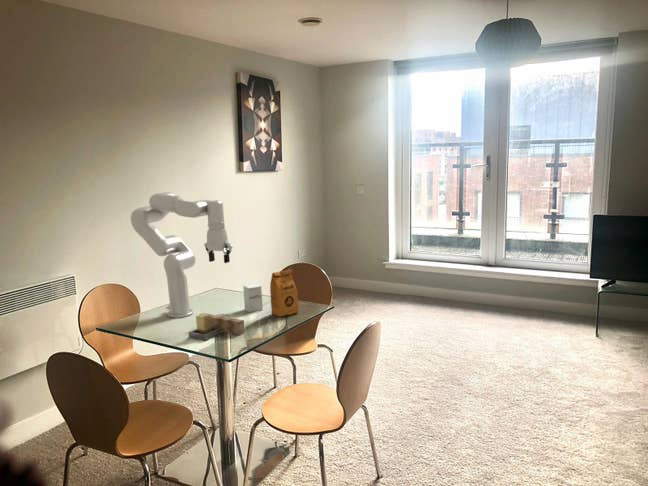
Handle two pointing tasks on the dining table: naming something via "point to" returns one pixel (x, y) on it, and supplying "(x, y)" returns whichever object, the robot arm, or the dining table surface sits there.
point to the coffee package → (283, 294)
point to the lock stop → (203, 323)
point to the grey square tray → (204, 337)
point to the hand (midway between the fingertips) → (219, 261)
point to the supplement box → (253, 297)
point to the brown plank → (228, 324)
